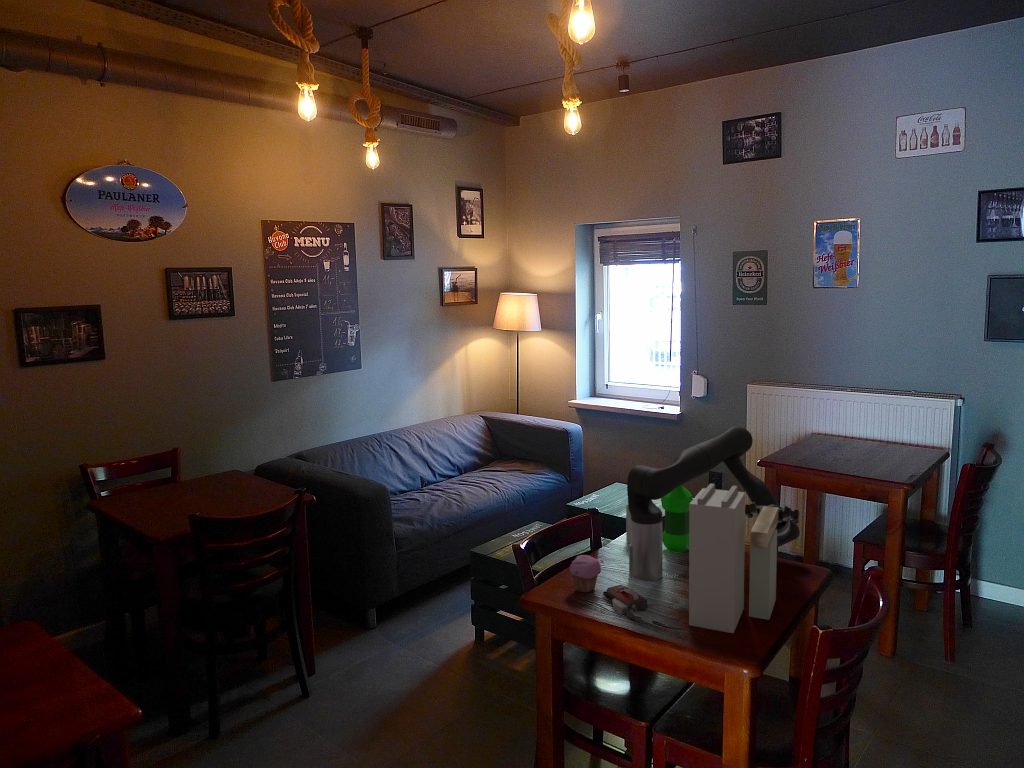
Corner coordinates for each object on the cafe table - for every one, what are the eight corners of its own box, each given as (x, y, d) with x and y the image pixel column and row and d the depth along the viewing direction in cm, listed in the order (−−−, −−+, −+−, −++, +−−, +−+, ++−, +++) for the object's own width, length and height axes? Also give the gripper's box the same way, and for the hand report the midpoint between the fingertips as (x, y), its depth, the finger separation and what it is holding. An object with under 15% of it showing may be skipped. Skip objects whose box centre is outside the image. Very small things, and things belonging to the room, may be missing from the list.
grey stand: (689, 625, 183) (689, 497, 179) (702, 601, 196) (702, 482, 192) (733, 633, 178) (734, 502, 174) (743, 608, 192) (745, 486, 187)
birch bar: (750, 546, 182) (750, 531, 181) (763, 519, 202) (763, 505, 201) (766, 548, 180) (767, 533, 179) (778, 521, 200) (778, 507, 200)
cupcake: (579, 581, 213) (578, 548, 211) (606, 587, 208) (605, 554, 207) (565, 592, 205) (564, 558, 204) (592, 598, 201) (592, 564, 199)
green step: (749, 616, 187) (750, 542, 184) (756, 596, 199) (757, 527, 196) (769, 619, 185) (770, 545, 182) (775, 599, 196) (777, 529, 194)
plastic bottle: (698, 548, 236) (699, 474, 232) (681, 558, 228) (681, 481, 225) (672, 542, 243) (672, 469, 239) (654, 550, 235) (654, 476, 232)
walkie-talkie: (596, 599, 201) (638, 628, 183) (596, 584, 201) (638, 611, 183) (622, 592, 205) (666, 620, 187) (622, 577, 204) (666, 604, 187)
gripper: (751, 505, 215) (743, 491, 201) (802, 511, 208) (798, 497, 195) (749, 530, 212) (741, 517, 199) (800, 536, 206) (796, 524, 192)
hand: (769, 507), depth 197 cm, fingers open, 8 cm apart
